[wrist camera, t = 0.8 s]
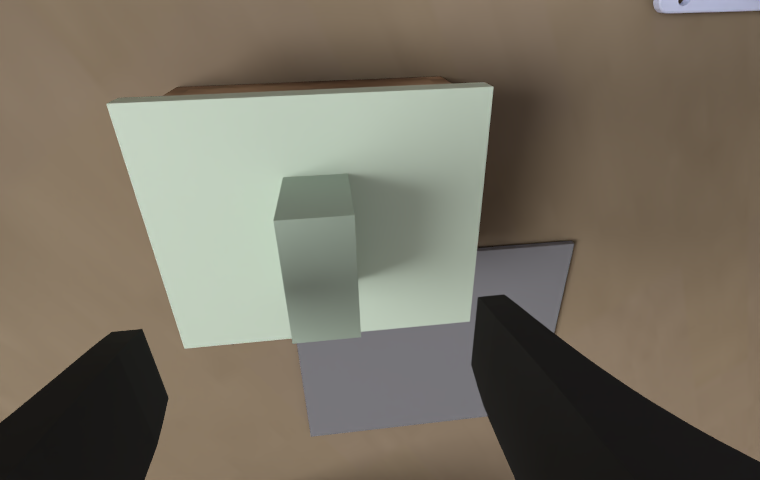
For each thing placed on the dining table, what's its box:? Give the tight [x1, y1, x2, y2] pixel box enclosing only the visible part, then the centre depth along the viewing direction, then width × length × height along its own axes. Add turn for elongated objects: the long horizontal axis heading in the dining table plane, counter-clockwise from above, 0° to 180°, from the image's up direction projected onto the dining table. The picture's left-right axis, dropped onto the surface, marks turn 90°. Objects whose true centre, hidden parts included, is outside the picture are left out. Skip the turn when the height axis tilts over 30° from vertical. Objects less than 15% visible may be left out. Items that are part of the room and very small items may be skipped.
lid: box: [107, 82, 494, 349], centre depth 14 cm, size 11×9×4 cm
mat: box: [297, 241, 574, 437], centre depth 24 cm, size 14×12×1 cm
